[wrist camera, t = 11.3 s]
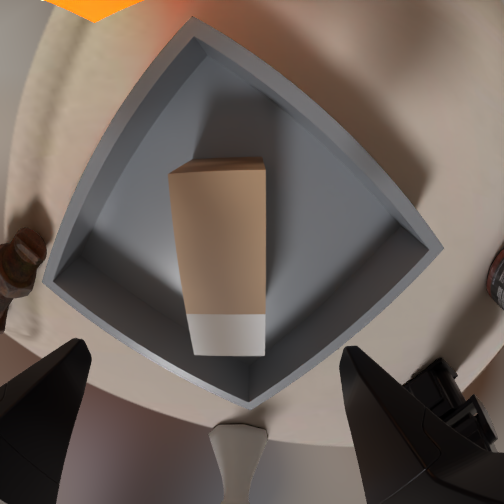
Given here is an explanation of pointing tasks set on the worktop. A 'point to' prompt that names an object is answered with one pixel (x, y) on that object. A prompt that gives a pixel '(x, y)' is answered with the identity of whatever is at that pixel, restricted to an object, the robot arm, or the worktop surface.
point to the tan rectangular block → (222, 252)
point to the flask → (237, 458)
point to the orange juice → (93, 7)
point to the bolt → (19, 268)
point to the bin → (277, 218)
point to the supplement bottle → (497, 280)
